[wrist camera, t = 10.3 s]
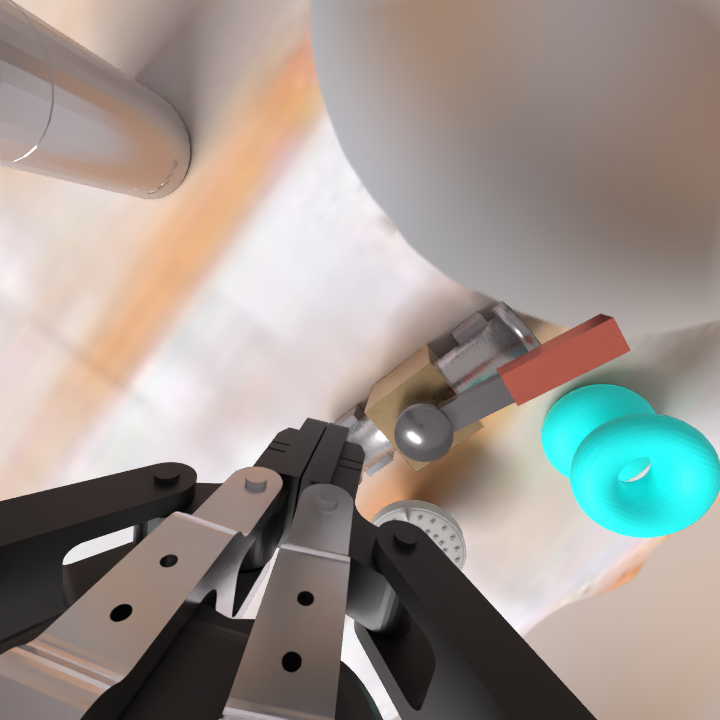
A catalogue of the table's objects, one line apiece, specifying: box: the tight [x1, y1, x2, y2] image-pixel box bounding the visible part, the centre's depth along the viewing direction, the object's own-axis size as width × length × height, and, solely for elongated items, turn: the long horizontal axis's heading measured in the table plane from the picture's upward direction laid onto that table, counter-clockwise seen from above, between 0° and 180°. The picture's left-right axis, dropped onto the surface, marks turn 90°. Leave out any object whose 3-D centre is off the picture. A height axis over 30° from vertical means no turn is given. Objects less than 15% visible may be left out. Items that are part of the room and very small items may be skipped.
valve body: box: [335, 302, 541, 484], centre depth 35 cm, size 7×22×8 cm, turn 131°
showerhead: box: [371, 500, 466, 571], centre depth 38 cm, size 9×7×10 cm
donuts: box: [542, 384, 720, 538], centre depth 32 cm, size 10×10×10 cm
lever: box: [394, 314, 631, 462], centre depth 28 cm, size 17×4×2 cm, turn 123°
